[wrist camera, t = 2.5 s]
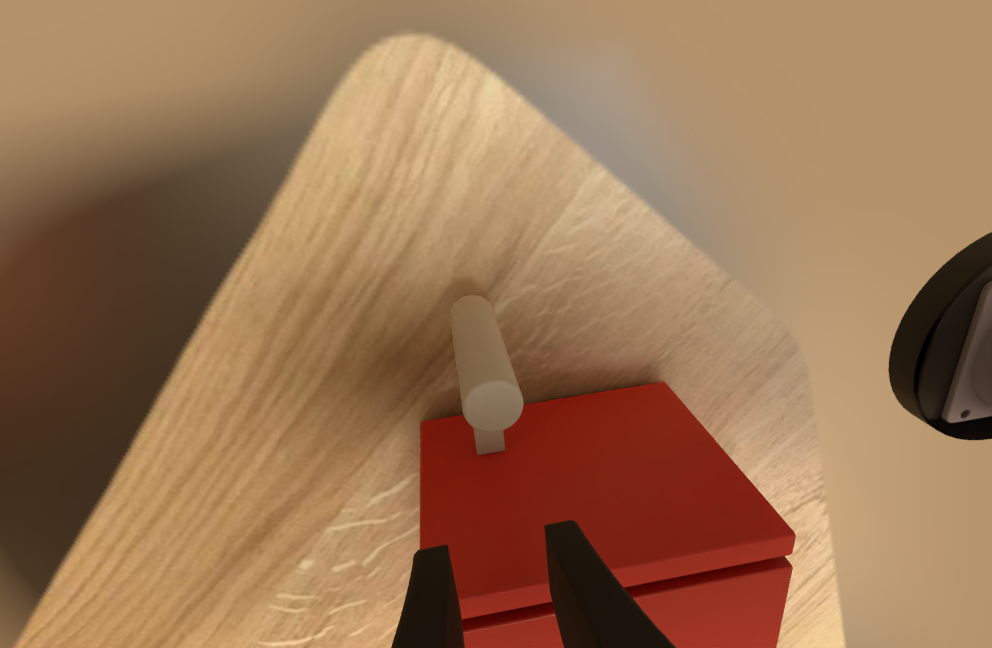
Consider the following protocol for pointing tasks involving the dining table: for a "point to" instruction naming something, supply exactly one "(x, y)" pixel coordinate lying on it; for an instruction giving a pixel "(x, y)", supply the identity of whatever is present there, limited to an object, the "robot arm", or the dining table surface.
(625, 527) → the red cabinet door
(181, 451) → the dining table surface
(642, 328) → the dining table surface
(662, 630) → the cabinet
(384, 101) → the dining table surface
